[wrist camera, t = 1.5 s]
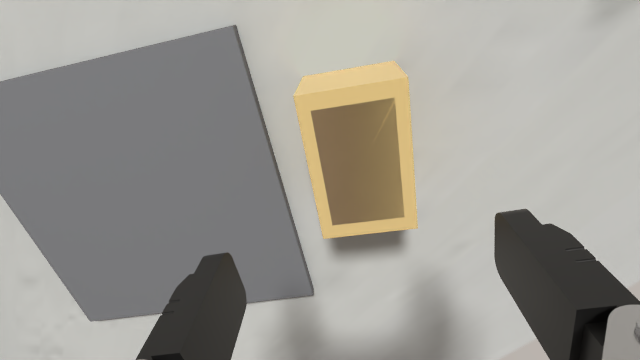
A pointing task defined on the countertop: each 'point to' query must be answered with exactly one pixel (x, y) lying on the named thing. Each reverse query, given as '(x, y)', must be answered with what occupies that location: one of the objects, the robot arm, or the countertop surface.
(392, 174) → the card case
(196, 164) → the mat
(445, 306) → the countertop surface
